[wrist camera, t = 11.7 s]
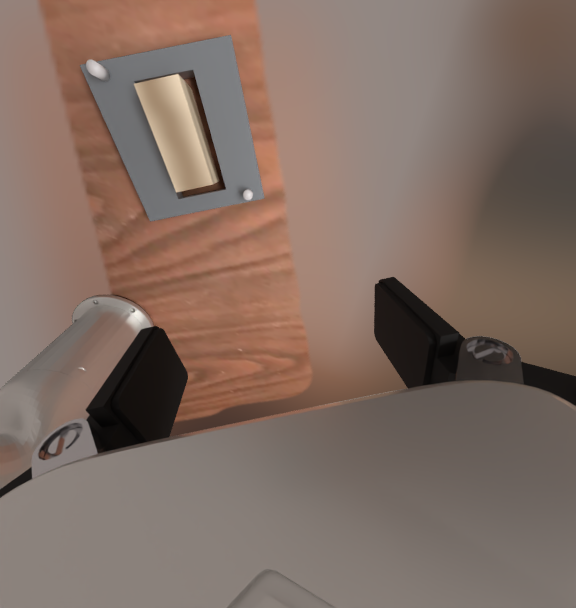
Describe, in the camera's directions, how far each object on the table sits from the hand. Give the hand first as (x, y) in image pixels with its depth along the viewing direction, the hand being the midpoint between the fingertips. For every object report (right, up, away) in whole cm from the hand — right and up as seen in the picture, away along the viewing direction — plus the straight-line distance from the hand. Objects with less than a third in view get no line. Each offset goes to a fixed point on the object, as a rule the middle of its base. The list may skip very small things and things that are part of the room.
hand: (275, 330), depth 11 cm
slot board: (-12, +22, +21) cm, 33 cm away
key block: (-12, +22, +21) cm, 33 cm away
